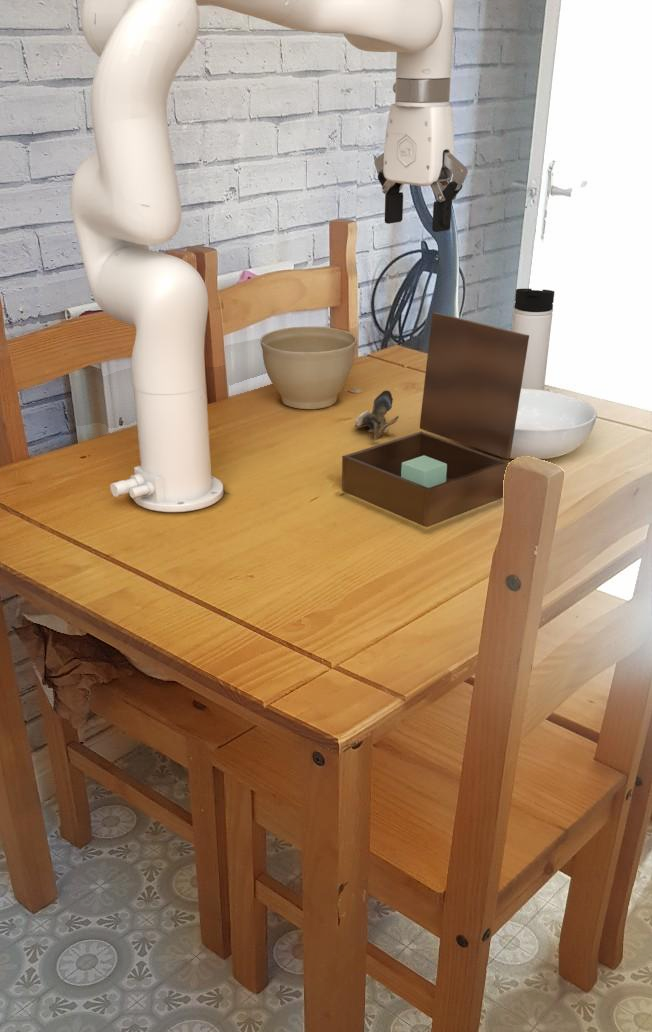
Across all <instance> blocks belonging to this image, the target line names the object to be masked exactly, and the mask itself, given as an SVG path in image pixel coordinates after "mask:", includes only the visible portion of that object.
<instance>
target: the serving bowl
mask: <svg viewBox="0 0 652 1032" xmlns="http://www.w3.org/2000/svg"><path fill="white" fill-rule="evenodd" d="M597 417H598V412H597V409H596V407H595V406H593V405H592V404H591V403H589V402H587V401H585V400H583V399H581V398H579V397H575V396H573V395H569V394H565V393H560V392H555V391H549V390H545V389H544V390H536V389H521V392H520V398H519V405H518V411H517V418H516V424H515V430H514V437H513V443H512V449H511V456H510V458H509V459H513V460H515V458H517V457H521V456H530V457H535V458H538V459H539V460H547V459H554V458H557V457H562V456H565V455H568V454H570V453H572V452H573V451H575V450H576V449H578V448H579V447H581V445H582V444H584V443H585V441H586V440H588V438H589V436H590V435H591V433H592V431H593V429H594V427H595V423H596V421H597V419H598V418H597Z"/></svg>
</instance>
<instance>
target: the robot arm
mask: <svg viewBox="0 0 652 1032" xmlns="http://www.w3.org/2000/svg"><path fill="white" fill-rule="evenodd" d="M455 4H456V3H455V0H83V4H82V8H81V15H80V23H81V29H82V32H83V36H84V39H85V40H86V43H87V44H88V46H89V47H90V49H91V50H92V51H93V53H95V55H97V56H98V57H99V59H98V62H97V65H96V68H95V70H94V75H93V79H92V83H91V90H90V113H91V114H90V116H91V122H92V127H93V135H94V141H95V148H96V153H95V154H92V155H90V156H89V157H87V158H86V159H84V160H83V161H82V162H81V163H80V164H79V166H78V167H77V169H76V170H75V172H74V174H73V177H72V181H71V186H70V209H71V215H72V220H73V224H74V228H75V233H76V237H77V241H78V246H79V250H80V255H81V258H82V261H83V262H82V263H83V267H84V271H85V274H86V280H87V282H88V286H89V289H90V291H91V294H92V296H93V299H94V300H95V303H96V304H97V306H98V307H99V308H100V309H101V310H102V311H103V313H105V314H106V315H107V316H109V317H110V318H113V319H115V320H117V321H119V322H122V323H125V324H127V325H131V326H132V327H135V339H134V344H133V347H132V353H131V358H130V359H131V362H130V367H131V368H130V370H131V372H130V373H131V384H132V389H133V399H134V408H135V409H134V410H135V421H136V429H137V440H138V451H139V461H140V465H137V466H134V467H133V472H134V474H132V475H130V476H129V478H127V479H122V480H119V481H115V482H112V483H110V485H109V487H110V493H111V494H112V496H113V497H114V498H118V497H122V496H125V495H128V494H129V496H130V498H131V499H132V500H133V502H134V503H136V505H138V506H140V507H141V508H144V509H147V510H150V511H155V512H159V513H160V512H161V513H185V512H192V511H197V510H202V509H205V508H208V507H211V506H213V505H215V504H216V503H217V502H220V500H221V499H222V498H223V496H224V484H223V482H222V481H221V480H220V479H219V478H217V477H215V476H214V475H212V464H211V463H212V462H211V446H210V429H209V413H208V398H207V397H208V396H207V395H208V394H207V382H206V367H205V364H206V363H205V362H206V361H205V341H206V339H205V338H206V328H207V320H208V313H209V293H208V290H207V285H206V283H205V281H204V280H203V277H202V276H201V274H200V272H199V271H198V270H197V269H195V267H194V266H193V265H191V264H190V263H188V262H187V261H185V260H183V259H182V258H179V257H177V256H175V255H172V254H168V253H164V252H161V251H160V252H159V251H157V250H152V249H150V248H149V246H157V245H158V246H159V245H162V244H165V243H167V242H169V241H171V240H172V239H173V237H175V236H176V234H177V233H178V231H179V229H180V226H181V222H182V201H181V195H180V188H179V184H178V178H177V172H176V167H175V162H174V156H173V150H172V149H173V148H172V144H171V138H170V133H169V123H168V110H167V108H168V97H169V93H170V89H171V86H172V84H173V82H174V79H175V77H176V75H177V72H178V71H179V70H180V68H181V66H182V65H183V64H184V62H185V60H187V58H188V57H189V55H190V54H191V52H192V51H193V49H194V47H195V45H196V42H197V40H198V36H199V32H200V25H201V23H200V10H199V7H200V6H201V7H203V6H204V7H205V6H213V7H218V8H223V9H226V10H229V11H232V12H236V13H239V14H242V15H246V16H250V17H254V18H256V19H259V20H263V21H266V22H269V23H271V24H275V25H277V26H281V27H283V28H288V29H290V30H296V31H302V32H307V33H314V34H315V33H317V34H341V35H343V36H344V38H345V39H346V40H347V42H348V43H349V44H350V45H352V46H353V47H354V48H356V49H358V50H360V51H363V52H370V53H371V52H372V53H396V60H395V61H396V64H395V66H396V67H395V82H394V84H393V85H392V91H393V93H394V97H395V98H394V100H395V101H394V103H391V104H390V108H389V112H388V117H387V122H386V128H385V129H386V130H385V137H384V148H383V149H384V150H383V153H381V154H380V155H378V156H377V157H376V158H374V161H373V163H374V166H375V169H376V173H377V180H378V182H379V184H380V185H381V192H382V194H384V198H385V199H384V223H385V224H389V225H390V224H395V223H396V224H397V223H401V222H402V221H403V217H404V216H403V215H404V192H401V190H402V188H403V187H404V185H409V186H416V187H417V186H419V187H428V186H430V188H431V189H432V191H433V194H434V196H435V198H436V201H433V205H432V206H433V207H432V226H431V227H432V228H431V229H432V232H434V233H441V232H446V231H450V229H451V223H452V207H453V201H455V200H456V199H457V195H458V194H459V193H460V191H461V190H462V189H463V184H464V182H465V180H466V178H467V176H468V172H469V170H468V167H466V166H465V165H464V164H463V163H462V162H461V161H460V160H459V159H458V158H457V157H455V129H454V128H455V127H454V117H453V116H454V115H453V108H452V105H450V95H451V80H452V79H451V78H452V77H451V76H452V60H453V59H452V58H453V41H454V39H453V38H454V23H455Z"/></svg>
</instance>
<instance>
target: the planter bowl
mask: <svg viewBox="0 0 652 1032" xmlns="http://www.w3.org/2000/svg"><path fill="white" fill-rule="evenodd" d="M356 346H357V337H356V336H355V334H353V333H352V332H349V331H348V330H347V331H346V330H342V329H340V328H339V329H338V328H333V327H326V326H314V325H313V326H308V325H307V326H291V327H285V328H279V329H275V330H273V331H269V332H266V333H265V334H263V335H261V337H260V347H261V349H262V351H261V352H262V360H263V365H264V368H265V372H266V374H267V376H268V378H269V380H270V382H271V384H272V385H273V387H274V389H275V390H276V391H277V392H278V393H279V395H280V398H281V402H282V403H283V404H284V405H285V406H287V407H290V408H294V409H299V410H300V409H301V410H317V409H324V408H329V407H331V406H333V405H334V404H335V403H336V402H337V401H338V395H339V393H340V392H341V391H342V390H343V388H344V387H345V385H346V383H347V381H348V379H349V377H350V375H351V372H352V368H353V364H354V360H355V351H356Z"/></svg>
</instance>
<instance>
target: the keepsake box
mask: <svg viewBox="0 0 652 1032" xmlns="http://www.w3.org/2000/svg"><path fill="white" fill-rule="evenodd" d="M423 455H425V456H427V457H430V458H433V459H435V460H438V461H441V462H443V463H446V464H447V473H446V482H444V483H441V484H438V485H436V486H433V487H430V488H427V487H425V486H422V485H420V484H417V483H415V482H412V481H410V480H407V479H405V478H402V477H401V467H402V462H405V461H408V460H411V459H414V458H417V457H420V456H423ZM341 459H342V460H341V492H344V493H347V494H349V495H350V496H353V497H356V498H357V499H360V500H362V501H365V502H366V503H369V504H371V505H374V506H376V507H378V508H381V509H383V510H385V511H388V512H390V513H392V514H395V515H397V516H399V517H402V518H404V519H406V520H408V521H411V522H413V523H415V524H418V525H420V526H423V527H425V528H429V527H431V526H433V525H437V524H439V523H442V522H444V521H447V520H450V519H452V518H454V517H458V516H459V515H462V514H464V513H467V512H470V511H472V510H475V509H478V508H480V507H482V506H485V505H488V504H491V503H493V502H495V501H498V500H500V499H504V497H503V480H504V474H505V470H506V467H507V468H508V466H507V465H508V464H509V462H508V461H506V460H503V459H501V458H499V457H495V456H492V455H490V454H486V453H484V452H481V451H478V450H475V449H473V448H469V447H467V446H464V445H461V444H458V443H455V442H452V441H449V440H446V439H444V438H441V437H438V436H435V435H432V434H429V433H427V432H424V431H418V432H414V433H411V434H409V435H405V436H402V437H399V438H396V439H392V440H389V441H386V442H383V443H379V444H376V445H374V446H373V445H372V446H370V447H367V448H364V449H361V450H357V451H354V452H351V453H348V454H345V455H342V456H341Z"/></svg>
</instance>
